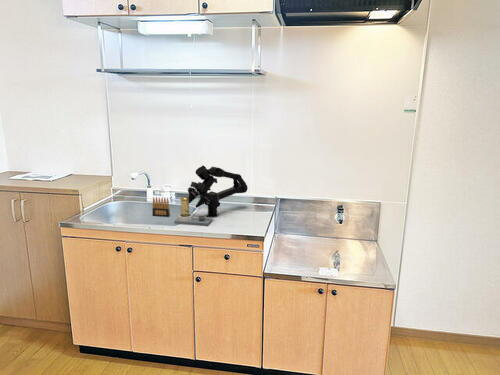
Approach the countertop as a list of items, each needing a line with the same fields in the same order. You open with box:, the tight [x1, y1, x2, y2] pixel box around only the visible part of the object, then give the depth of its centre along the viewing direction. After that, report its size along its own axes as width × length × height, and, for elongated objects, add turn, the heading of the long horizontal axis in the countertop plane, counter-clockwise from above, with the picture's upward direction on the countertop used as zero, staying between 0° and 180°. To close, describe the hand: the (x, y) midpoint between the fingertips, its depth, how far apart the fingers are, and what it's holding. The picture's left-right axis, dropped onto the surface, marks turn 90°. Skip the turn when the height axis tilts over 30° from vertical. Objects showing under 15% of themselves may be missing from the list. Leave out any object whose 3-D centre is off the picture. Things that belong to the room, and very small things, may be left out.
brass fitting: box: [180, 196, 190, 217], centre depth 215 cm, size 4×4×13 cm
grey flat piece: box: [173, 212, 213, 227], centre depth 215 cm, size 9×20×4 cm, turn 80°
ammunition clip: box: [152, 196, 171, 218], centre depth 225 cm, size 11×2×12 cm, turn 80°
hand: (191, 205), depth 217 cm, fingers open, 9 cm apart
